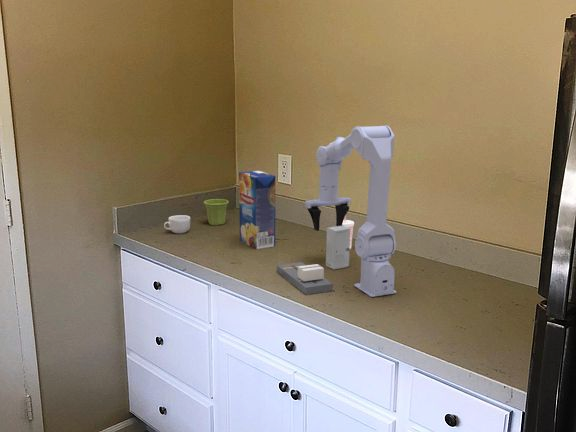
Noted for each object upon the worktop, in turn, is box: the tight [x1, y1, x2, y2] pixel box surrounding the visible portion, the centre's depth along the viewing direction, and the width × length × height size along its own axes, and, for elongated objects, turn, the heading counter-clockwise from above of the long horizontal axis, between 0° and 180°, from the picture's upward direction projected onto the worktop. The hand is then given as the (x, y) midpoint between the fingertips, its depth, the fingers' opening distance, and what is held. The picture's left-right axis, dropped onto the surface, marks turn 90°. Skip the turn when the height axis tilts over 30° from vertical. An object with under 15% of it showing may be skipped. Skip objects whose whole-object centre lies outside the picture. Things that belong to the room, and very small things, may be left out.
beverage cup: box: [342, 214, 355, 250], centre depth 202 cm, size 6×6×14 cm
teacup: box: [163, 214, 191, 235], centre depth 221 cm, size 10×8×5 cm
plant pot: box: [203, 198, 229, 226], centre depth 233 cm, size 9×9×9 cm
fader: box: [298, 263, 325, 281], centre depth 167 cm, size 4×6×3 cm, turn 113°
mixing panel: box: [276, 261, 334, 295], centre depth 172 cm, size 20×8×2 cm, turn 23°
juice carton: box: [238, 170, 276, 250], centre depth 205 cm, size 12×8×24 cm, turn 31°
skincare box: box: [325, 225, 351, 270], centre depth 184 cm, size 6×4×12 cm
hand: (327, 228), depth 189 cm, fingers open, 7 cm apart
